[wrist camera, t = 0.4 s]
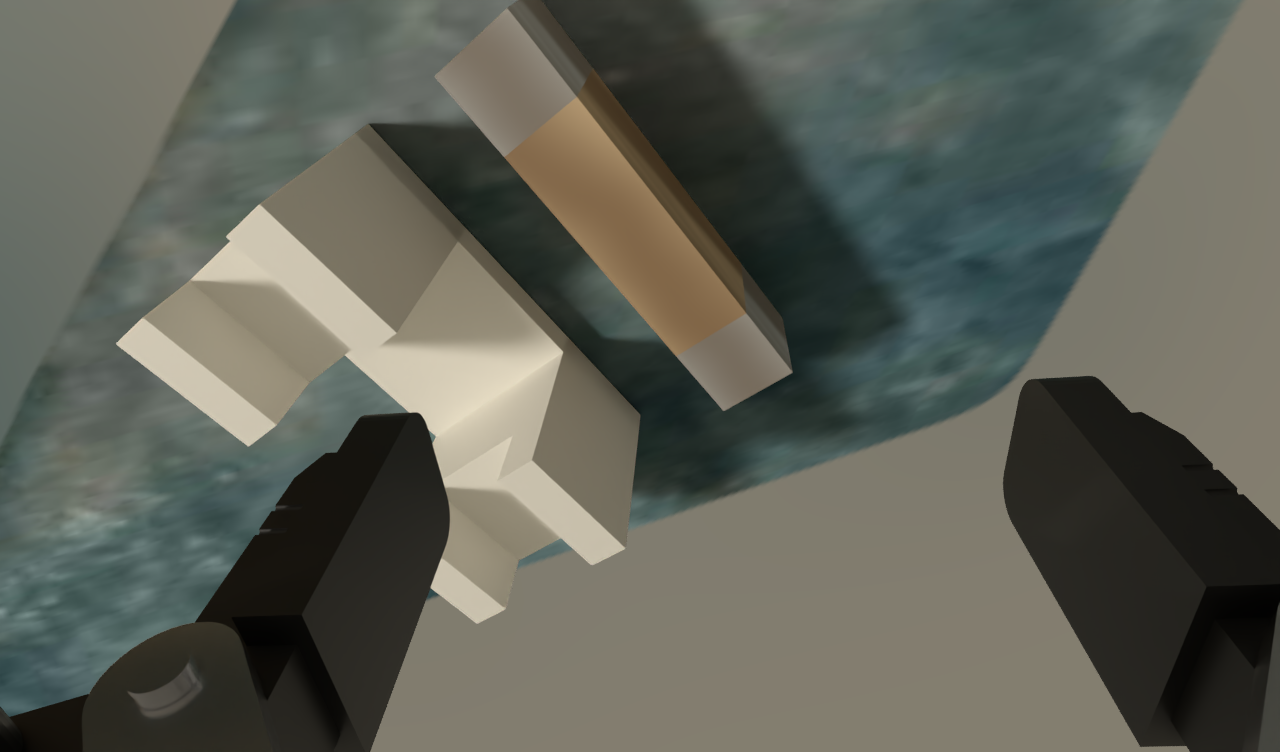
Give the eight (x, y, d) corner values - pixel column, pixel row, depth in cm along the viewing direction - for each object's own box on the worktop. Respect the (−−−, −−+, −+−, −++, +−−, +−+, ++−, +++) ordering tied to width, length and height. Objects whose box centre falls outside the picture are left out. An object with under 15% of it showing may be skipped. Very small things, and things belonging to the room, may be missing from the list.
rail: (533, -10, 24) (507, 7, 21) (782, 318, 30) (792, 372, 27) (469, 50, 25) (434, 76, 22) (721, 354, 31) (723, 411, 28)
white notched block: (368, 123, 27) (259, 204, 20) (640, 415, 33) (626, 548, 27) (245, 240, 30) (115, 343, 23) (517, 487, 36) (477, 623, 30)
